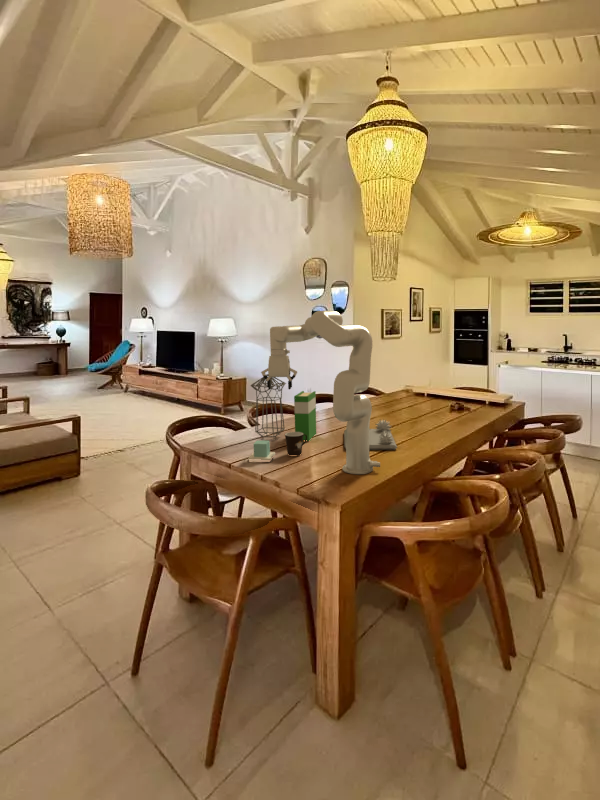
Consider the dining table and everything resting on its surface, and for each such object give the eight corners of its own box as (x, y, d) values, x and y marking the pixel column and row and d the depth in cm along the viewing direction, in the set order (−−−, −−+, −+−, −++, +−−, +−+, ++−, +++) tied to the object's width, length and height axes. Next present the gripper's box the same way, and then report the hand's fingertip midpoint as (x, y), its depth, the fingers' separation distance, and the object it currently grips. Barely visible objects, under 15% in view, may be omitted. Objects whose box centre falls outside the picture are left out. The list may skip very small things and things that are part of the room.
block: (270, 453, 210) (269, 440, 209) (266, 457, 204) (266, 444, 203) (257, 452, 211) (256, 440, 210) (253, 456, 205) (253, 443, 204)
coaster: (275, 456, 212) (275, 452, 211) (270, 462, 202) (270, 458, 201) (254, 455, 213) (254, 451, 213) (248, 462, 204) (248, 457, 203)
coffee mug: (288, 458, 208) (287, 437, 206) (283, 453, 216) (282, 432, 215) (312, 455, 211) (311, 434, 209) (306, 450, 219) (306, 430, 218)
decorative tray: (344, 433, 253) (344, 416, 251) (391, 433, 250) (391, 416, 249) (344, 451, 218) (344, 431, 217) (399, 451, 216) (399, 431, 214)
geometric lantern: (251, 441, 240) (248, 375, 235) (263, 435, 254) (260, 372, 249) (279, 442, 235) (276, 375, 230) (289, 436, 249) (287, 372, 244)
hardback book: (303, 433, 254) (302, 391, 250) (316, 433, 252) (315, 391, 248) (295, 441, 237) (294, 396, 233) (309, 441, 236) (308, 396, 232)
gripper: (298, 352, 215) (298, 387, 218) (262, 352, 218) (264, 387, 221) (295, 353, 208) (296, 390, 211) (258, 353, 211) (260, 390, 214)
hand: (279, 388), depth 216 cm, fingers open, 9 cm apart
